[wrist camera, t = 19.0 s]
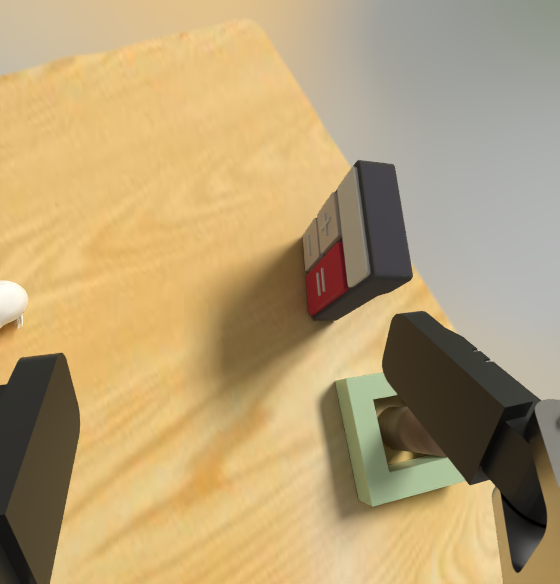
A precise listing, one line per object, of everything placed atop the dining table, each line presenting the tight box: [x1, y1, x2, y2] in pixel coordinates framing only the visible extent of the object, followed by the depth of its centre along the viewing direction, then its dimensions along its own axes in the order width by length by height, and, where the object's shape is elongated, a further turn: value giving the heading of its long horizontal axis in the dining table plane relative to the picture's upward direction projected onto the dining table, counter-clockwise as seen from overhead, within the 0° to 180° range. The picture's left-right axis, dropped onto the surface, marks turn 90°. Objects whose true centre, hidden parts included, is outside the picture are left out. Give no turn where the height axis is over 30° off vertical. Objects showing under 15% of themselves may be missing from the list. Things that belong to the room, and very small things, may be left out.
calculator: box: [303, 160, 413, 320], centre depth 38 cm, size 11×4×15 cm, turn 3°
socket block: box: [335, 373, 466, 507], centre depth 41 cm, size 12×12×3 cm
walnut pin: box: [378, 407, 447, 457], centre depth 38 cm, size 4×4×9 cm
